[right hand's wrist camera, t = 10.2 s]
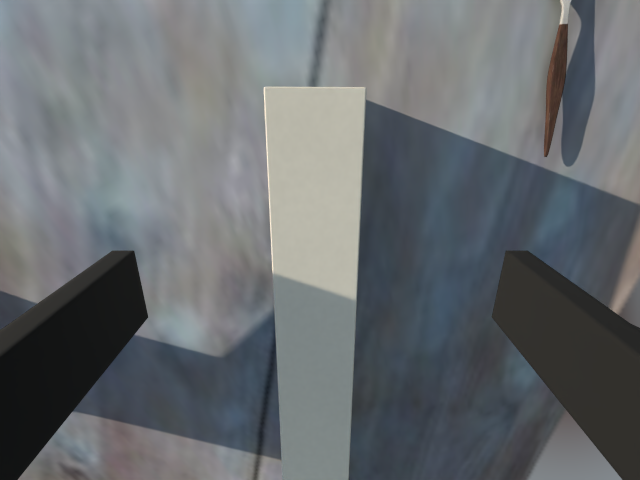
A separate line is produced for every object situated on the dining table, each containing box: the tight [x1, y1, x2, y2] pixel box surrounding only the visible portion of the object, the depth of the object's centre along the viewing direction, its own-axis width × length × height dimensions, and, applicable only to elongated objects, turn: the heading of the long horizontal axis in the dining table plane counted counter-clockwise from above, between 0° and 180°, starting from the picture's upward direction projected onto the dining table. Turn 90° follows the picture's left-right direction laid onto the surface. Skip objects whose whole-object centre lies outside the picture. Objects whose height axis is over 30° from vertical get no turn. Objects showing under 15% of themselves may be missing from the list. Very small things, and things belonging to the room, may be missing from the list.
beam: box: [264, 87, 366, 480], centre depth 32 cm, size 54×6×8 cm, turn 0°
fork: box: [544, 0, 572, 157], centre depth 24 cm, size 3×16×2 cm, turn 5°
